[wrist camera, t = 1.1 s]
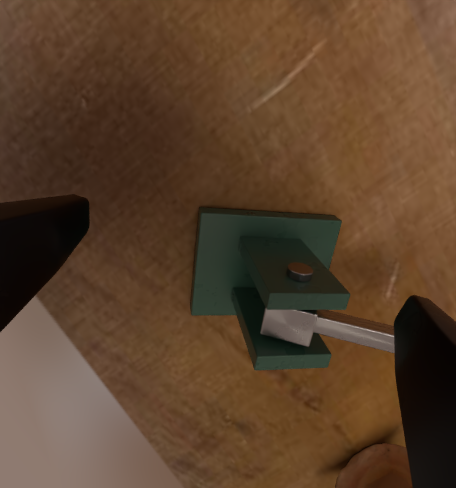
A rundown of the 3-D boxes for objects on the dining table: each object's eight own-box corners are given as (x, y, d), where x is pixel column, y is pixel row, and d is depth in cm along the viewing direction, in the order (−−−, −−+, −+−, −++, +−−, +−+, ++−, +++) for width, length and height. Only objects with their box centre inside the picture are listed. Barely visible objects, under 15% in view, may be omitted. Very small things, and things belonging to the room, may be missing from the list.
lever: (512, 326, 18) (546, 366, 16) (487, 371, 20) (514, 416, 17) (274, 271, 21) (266, 298, 18) (265, 315, 22) (257, 346, 19)
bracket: (334, 215, 25) (407, 269, 18) (311, 306, 28) (364, 385, 21) (198, 206, 23) (217, 264, 16) (189, 306, 26) (201, 393, 19)
